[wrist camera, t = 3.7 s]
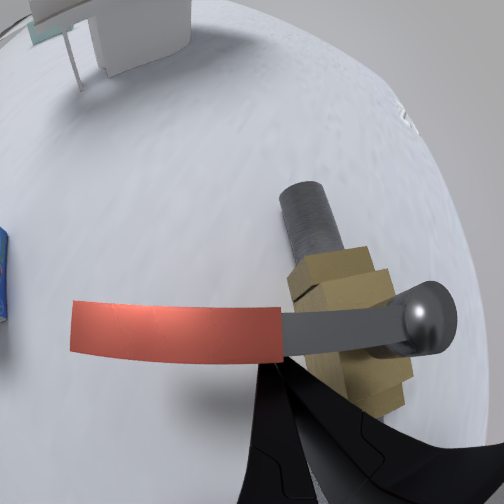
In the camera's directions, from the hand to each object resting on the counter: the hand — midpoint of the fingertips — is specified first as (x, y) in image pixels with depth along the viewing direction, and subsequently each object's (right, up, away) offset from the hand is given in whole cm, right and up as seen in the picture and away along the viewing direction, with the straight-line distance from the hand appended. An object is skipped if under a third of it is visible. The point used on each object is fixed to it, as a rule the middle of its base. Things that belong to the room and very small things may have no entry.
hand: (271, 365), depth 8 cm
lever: (0, 0, +2) cm, 2 cm away
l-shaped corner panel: (-48, +59, +27) cm, 80 cm away
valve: (+5, -2, +8) cm, 10 cm away
